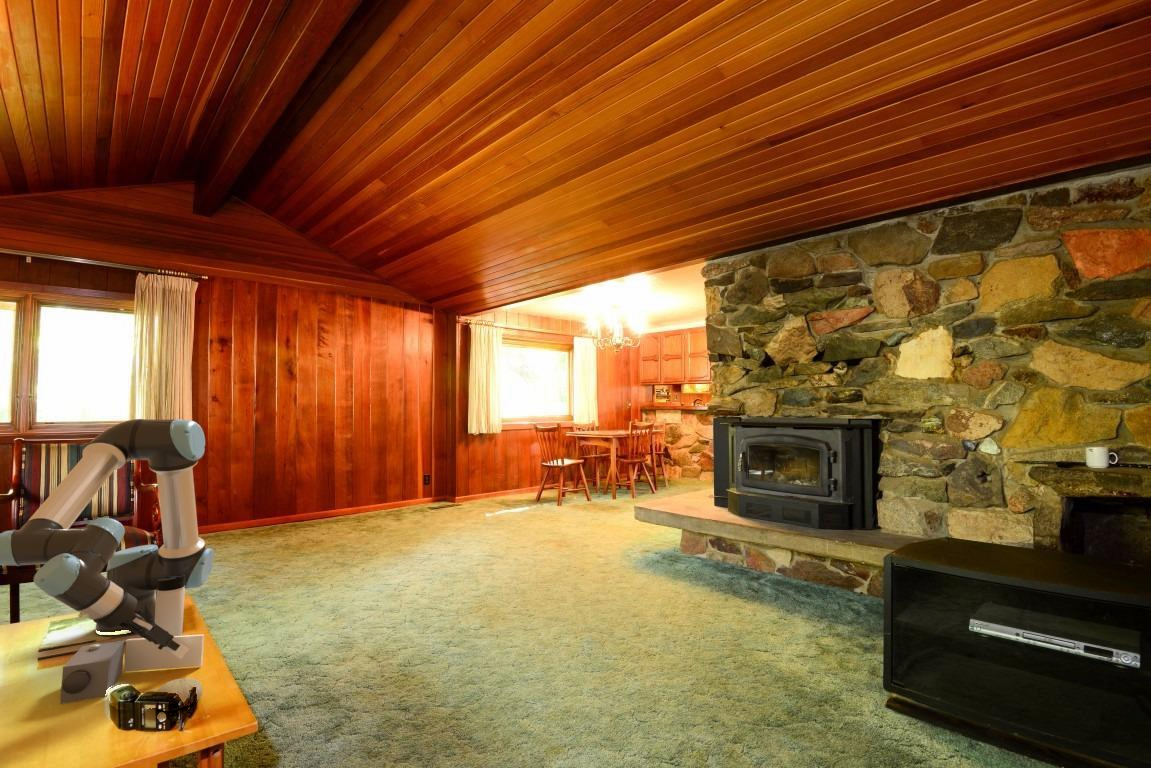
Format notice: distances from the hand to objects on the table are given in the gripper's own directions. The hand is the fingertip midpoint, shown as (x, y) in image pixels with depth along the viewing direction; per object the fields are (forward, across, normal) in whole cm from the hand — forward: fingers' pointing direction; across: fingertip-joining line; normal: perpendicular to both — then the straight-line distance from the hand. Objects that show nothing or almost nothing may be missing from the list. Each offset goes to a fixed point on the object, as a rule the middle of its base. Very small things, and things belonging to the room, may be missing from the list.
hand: (183, 653), depth 136 cm
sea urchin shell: (-3, +15, -10) cm, 18 cm away
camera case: (-7, -9, -13) cm, 18 cm away
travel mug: (+7, -17, 0) cm, 18 cm away
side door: (+2, -5, -4) cm, 7 cm away
